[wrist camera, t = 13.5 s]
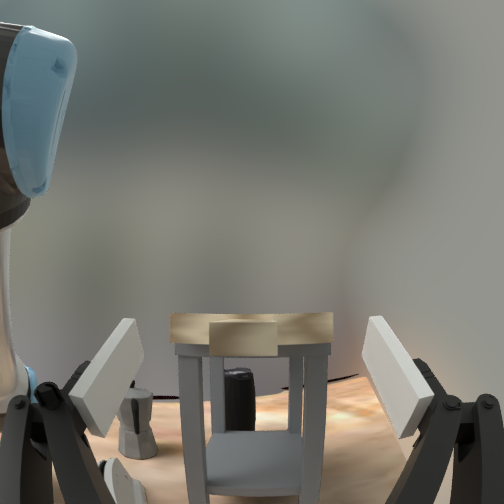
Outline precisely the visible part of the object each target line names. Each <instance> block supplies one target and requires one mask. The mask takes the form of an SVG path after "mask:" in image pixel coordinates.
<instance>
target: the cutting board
mask: <svg viewBox="0 0 504 504" xmlns="http://www.w3.org/2000/svg"><path fill="white" fill-rule="evenodd" d="M332 342H333V312H324V313H297V314H187V313H186V314H185V313H170V343H185V344H209V355H215V356H278V345H292V344H315V343H332Z"/></svg>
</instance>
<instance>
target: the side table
mask: <svg viewBox="0 0 504 504" xmlns="http://www.w3.org/2000/svg"><path fill="white" fill-rule="evenodd" d="M175 355H178V367H179V368H178V370H179V396H180V415H181V430H182V442H183V454H184V464H185V473H186V482H187V490H188V498H189V504H210V500H209V494H212V495H225V496H248V497H270V496H294V495H299V498H298V504H318V500H319V492H320V483H321V474H322V463H323V452H324V439H325V423H326V403H327V368H328V355H331V343H315V344H292V345H278V356H215V355H209V344H185V343H175ZM202 357H210V394H211V395H210V396H211V424H212V436H211V438H210V440H209V443H208V445H207V447H206V448H205V431H204V409H203V383H202V382H203V381H202V380H203V378H202ZM224 357H226V358H277V357H289V406H288V430H285V431H230V430H225V392H224ZM303 357H305V359H304V410H303V436H302V437H301V425H302V392H303Z"/></svg>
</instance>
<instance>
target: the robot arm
mask: <svg viewBox="0 0 504 504" xmlns="http://www.w3.org/2000/svg"><path fill="white" fill-rule="evenodd" d="M76 66H77V52H76V48H75V47H74V45H73V44H72V43H71V42H70V41H69V40H68V39H66V38H64V37H61V36H58V35H55V34H52V33H49V32H46V31H43V30H40V29H37V28H35V27H34V26H20V25H13V24H7V23H0V433H2V435H1V441H0V504H54V502H53V486H52V462H53V465H54V469H55V472H56V476H57V479H58V482H59V485H60V488H61V491H62V494H63V497H64V500H65V503H66V504H116V502H115V501H114V499H113V497H112V495H111V493H110V491H109V489H108V487H107V485H106V482H105V480H104V478H103V476H102V474H101V472H100V469H99V467H98V465H97V462H96V460H95V458H94V455H93V453H92V450H91V448H90V445H89V442H88V440H87V437H86V435H85V434H84V431H85V429H86V427H87V428H88V430H89V431H90V433H91V435H95V436H99V437H102V438H105V437H106V434H107V432H108V430H109V428H110V426H111V424H112V422H113V420H114V418H115V415H116V413H117V411H118V409H119V407H120V405H121V403H122V401H123V399H124V397H125V395H126V393H127V391H128V389H129V387H130V385H131V383H132V381H133V379H134V377H135V375H136V373H137V371H138V369H139V367H140V365H141V363H142V361H143V359H144V353H143V349H142V345H141V342H140V337H139V333H138V329H137V325H136V320H135V319H129V318H123V320H122V321H121V322H120V324H119V325H118V326H117V327H116V329H115V330H114V331H113V333H112V334H111V335H110V337H109V338H108V339H107V341H106V342H105V344H104V345H103V346H102V348H101V349H100V350H99V352H98V353H97V354H96V356H95V357H94V359H93V360H92V361H85V362H84V363H82V364H81V365H80V366H79V367H78V368H77V370H76V371H75V373H74V374H73V375H72V376H71V379H69V380H68V382H67V383H66V385H65V386H64V388H63V389H62V390H61V392H60V390H59V388H58V387H57V385H56V384H55V383H53V382H44V383H42V384H40V385H39V386H37V379H36V374H35V372H34V370H33V369H32V368H29V367H27V366H24V364H23V362H22V361H21V360H20V358H19V357H18V356H17V355H16V354H15V352H14V344H13V336H12V328H11V315H10V299H9V253H10V252H9V251H10V237H11V227H13V226H14V225H15V224H17V223H18V222H19V221H20V220H21V219H22V218H23V217H24V216H25V214H26V213H27V211H28V209H29V205H30V200H31V198H32V199H33V198H35V197H38V196H43V195H44V194H46V192H47V190H48V188H49V185H50V180H51V176H52V171H53V166H54V161H55V155H56V150H57V145H58V142H59V137H60V133H61V129H62V125H63V120H64V116H65V112H66V107H67V103H68V100H69V95H70V92H71V87H72V83H73V79H74V75H75V71H76ZM362 358H363V360H364V362H365V364H366V366H367V368H368V370H369V373H370V375H371V377H372V379H373V381H374V383H375V386H376V388H377V390H378V392H379V395H380V397H381V399H382V401H383V404H384V406H385V408H386V410H387V413H388V415H389V417H390V419H391V422H392V424H393V427H394V429H395V432H396V434H397V436H398V439H402V438H405V437H409V436H413V435H414V433H415V431H416V429H417V428H418V429H419V431H420V435H419V437H418V438H417V440H416V442H415V443H414V445H413V447H414V448H413V450H412V453H411V455H410V457H409V459H408V461H407V463H406V465H405V467H404V469H403V471H402V473H401V475H400V477H399V479H398V481H397V483H396V485H395V487H394V489H393V490H392V492H391V494H390V496H389V497H388V499H387V501H386V503H385V504H433V503H434V501H435V498H436V496H437V493H438V491H439V488H440V486H441V483H442V481H443V478H444V475H445V472H446V470H447V466H448V463H449V460H450V457H451V454H452V451H453V448H454V462H453V478H452V490H451V498H450V504H504V428H503V421H502V415H501V410H500V405H499V402H498V400H497V399H496V398H495V397H494V396H492V395H491V394H482V395H480V396H479V397H478V399H477V400H476V402H469V403H462V402H461V400H460V399H459V398H458V397H456V396H453V395H447V394H446V392H445V390H444V389H443V387H442V386H441V384H440V383H439V381H438V380H437V378H436V377H434V376H435V375H434V374H433V373H432V372H431V369H430V368H429V367H428V365H427V364H426V363H425V362H423V361H422V360H421V359H419V358H418V359H413V360H412V359H411V358H410V356H409V354H408V353H407V352H406V350H405V349H404V347H403V346H402V344H401V343H400V341H399V340H398V338H397V337H396V335H395V334H394V333H393V331H392V330H391V328H390V327H389V326H388V324H387V323H386V321H385V320H384V319H383V317H382V316H372V317H369V322H368V327H367V333H366V337H365V342H364V347H363V351H362Z"/></svg>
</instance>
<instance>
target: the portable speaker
mask: <svg viewBox="0 0 504 504" xmlns="http://www.w3.org/2000/svg"><path fill="white" fill-rule="evenodd" d="M224 392H225V430H230V431H255V420H256V405H255V386H254V379H253V373H252V372H251V370H250V369H248V368H235V369H230V370H225V369H224Z"/></svg>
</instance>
